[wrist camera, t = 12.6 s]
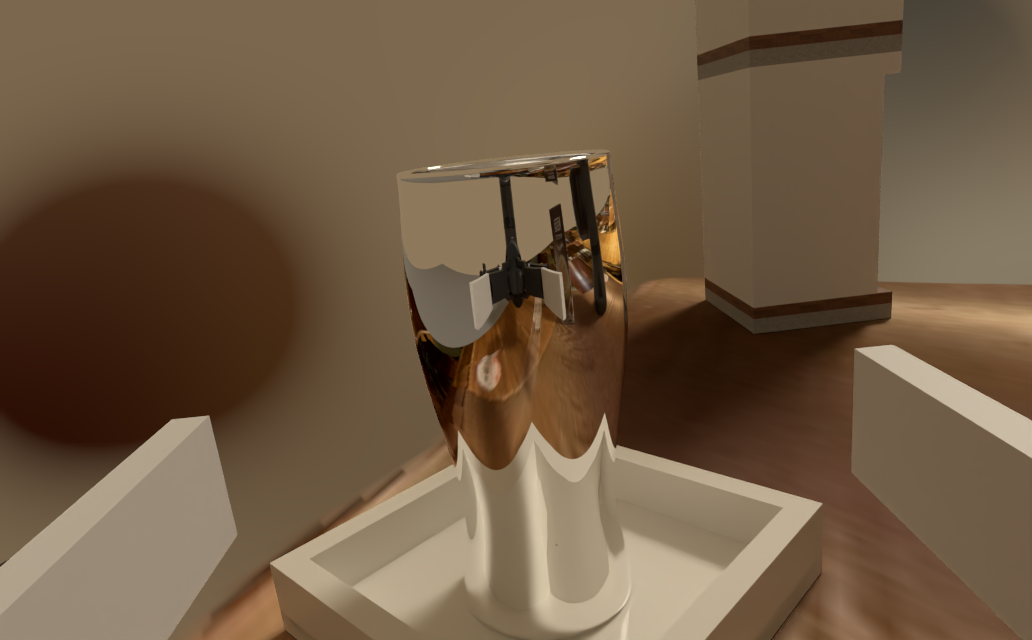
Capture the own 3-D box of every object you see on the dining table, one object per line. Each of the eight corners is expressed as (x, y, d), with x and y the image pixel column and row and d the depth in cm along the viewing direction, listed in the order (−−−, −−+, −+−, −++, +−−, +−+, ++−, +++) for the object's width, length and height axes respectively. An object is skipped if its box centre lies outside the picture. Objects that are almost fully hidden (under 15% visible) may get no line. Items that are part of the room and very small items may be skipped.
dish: (538, 472, 35) (532, 421, 34) (821, 571, 25) (822, 503, 24) (285, 629, 25) (269, 563, 25) (586, 884, 16) (575, 788, 15)
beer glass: (412, 609, 24) (339, 179, 20) (524, 513, 30) (483, 157, 26) (584, 684, 20) (534, 166, 16) (677, 556, 26) (656, 143, 22)
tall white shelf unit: (891, 317, 53) (911, -217, 43) (754, 333, 52) (745, -201, 43) (819, 286, 64) (823, -145, 54) (705, 299, 63) (690, -132, 54)
